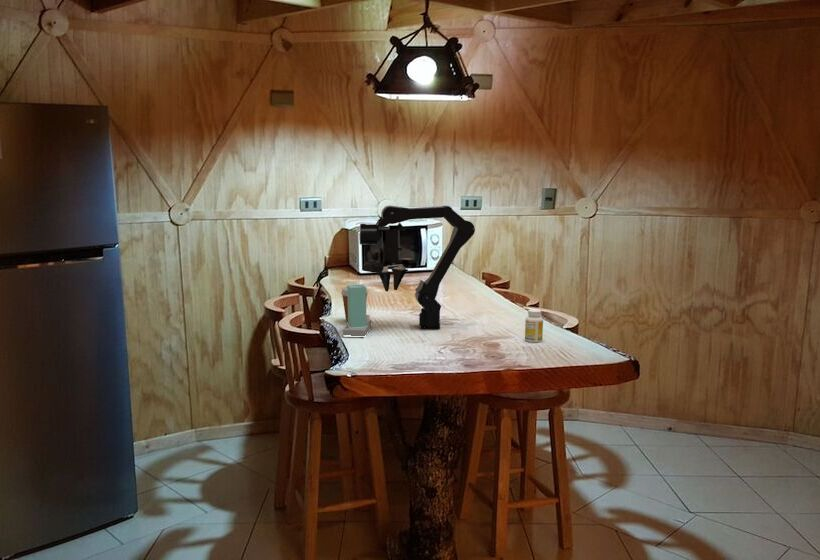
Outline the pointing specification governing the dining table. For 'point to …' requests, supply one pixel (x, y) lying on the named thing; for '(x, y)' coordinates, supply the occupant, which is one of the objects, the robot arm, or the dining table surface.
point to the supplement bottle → (534, 326)
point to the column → (356, 305)
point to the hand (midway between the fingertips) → (391, 290)
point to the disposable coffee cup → (345, 301)
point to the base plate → (358, 329)
